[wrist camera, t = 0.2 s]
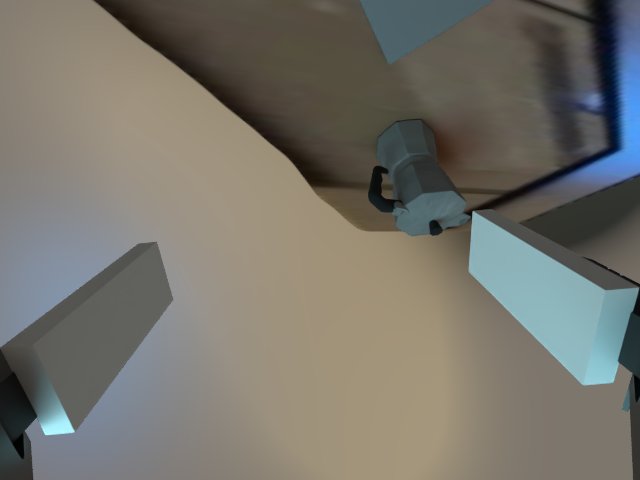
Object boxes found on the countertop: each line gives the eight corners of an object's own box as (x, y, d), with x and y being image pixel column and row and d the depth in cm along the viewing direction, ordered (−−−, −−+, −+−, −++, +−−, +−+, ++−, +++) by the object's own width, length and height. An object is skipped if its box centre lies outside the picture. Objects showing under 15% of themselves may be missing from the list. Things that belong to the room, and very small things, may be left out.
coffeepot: (456, 128, 52) (504, 217, 41) (421, 172, 59) (455, 258, 48) (367, 102, 47) (395, 196, 36) (341, 154, 54) (359, 245, 43)
